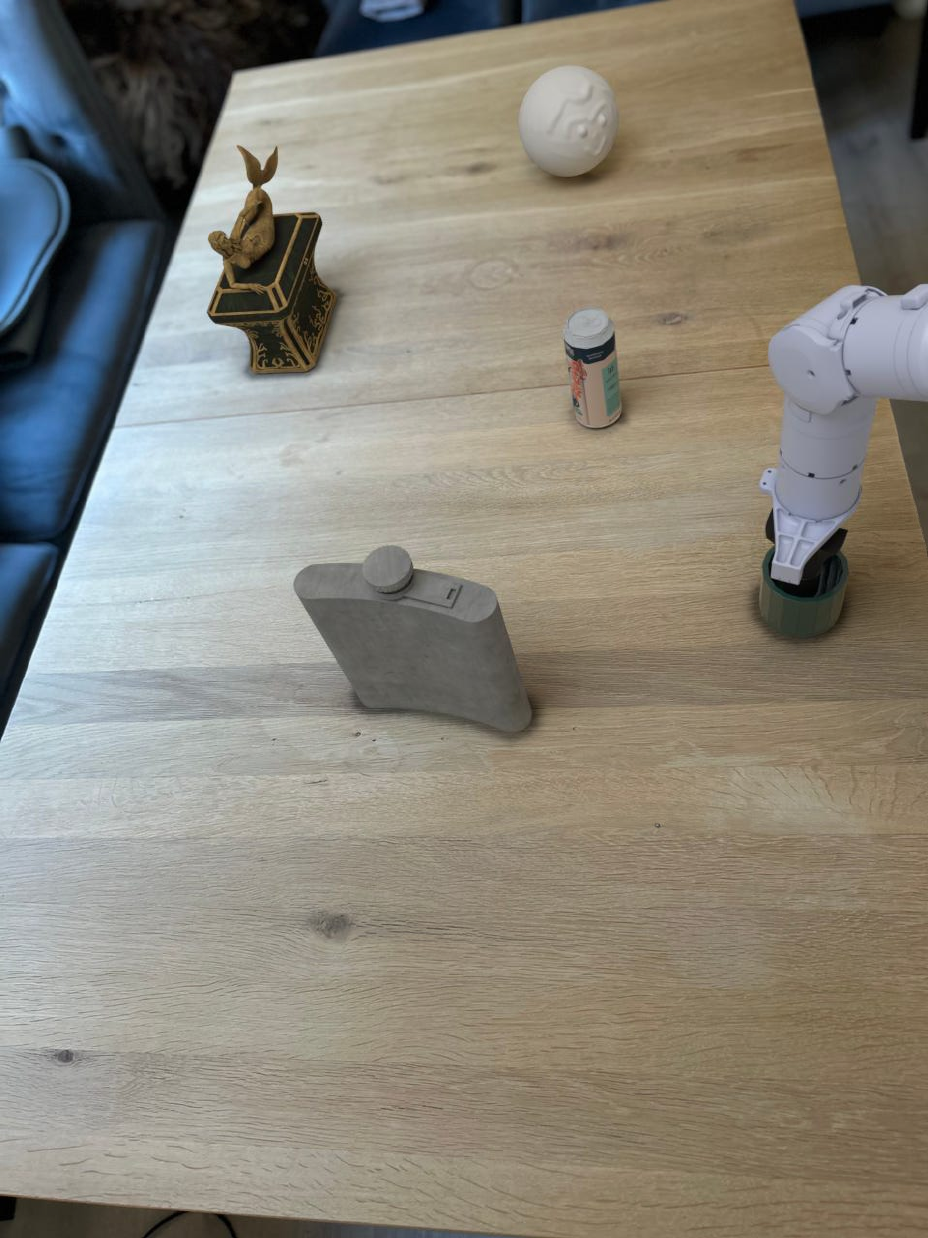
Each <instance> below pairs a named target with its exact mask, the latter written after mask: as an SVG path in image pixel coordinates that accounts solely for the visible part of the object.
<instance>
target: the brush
mask: <svg viewBox="0 0 928 1238" xmlns="http://www.w3.org/2000/svg"><path fill="white" fill-rule="evenodd" d="M821 572H822V566H821V569H820V570H819V572H818V574H817V575H816V577H815V578H814V579H812V580H811V579H808V578H804V577H802V578H801V580H800V583H799V585H796V584H792V583H790V582H789V583H788V582H783V589H784V592H785V593H787V594H789V595H793V596H797V597H800V598H808V597H814V596H815V595H816V594H817V592H818V589H819V583H820V577H821Z"/></svg>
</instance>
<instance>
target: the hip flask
mask: <svg viewBox="0 0 928 1238" xmlns="http://www.w3.org/2000/svg"><path fill="white" fill-rule="evenodd" d="M292 588H293V590H294V593H295V594H296V597H297V598H298V600H299V601H300V603H301V604H302V606H303V608H304V610H305V611H306V613H307V614H308V616H309V618H310V619H311V621H312V623H313V624H314V626H315V627H316V629H317V632H319V634H320V636H321V637H322V639H323V641H324V643H325V644H326V646H327V647H328V649H329V650H330V653H331V654H332V656H333V657H334V659H335V661H336V663H337V664H338V666H339V667H340V669H341V671H342V672H343V674H344V677H346V679H347V681H348V683H349V684H350V686H351V687H352V689H353V690H354V692H355V694H356V695H357V697H358V699H359V700H360V702H361V703H362V705H364V706H365V707H367V708H369V709H403V710H406V709H407V710H416V711H425V712H432V713H437V714H443V715H450V716H454V717H458V718H463V719H466V720H470V721H474V722H478V723H480V724H485V725H487V726H490V727H493V728H494V729H497V730H500V731H503V732H505V733H509V734H510V733H511V734H515V733H519V732H522V731H524V730H525V729H526V728H527V727H528V726H530V724H531V721H532V718H533V711H532V708H531V704H530V701H529V698H528V694H527V691H526V688H525V685H524V681H523V678H522V676H521V672H520V669H519V665H518V663H517V658H516V655H515V652H514V649H513V646H512V643H511V639H510V636H509V633H508V630H507V626H506V623H505V620H504V617H503V613H502V609H501V607H500V604H499V600H498V597H497V594H496V592H495V591H494V590H493V589H492V588H490V587H489V586H486V585H484V584H481V583H478V582H475V581H472V580H468V579H465V578H462V577H458V576H453V575H450V574H446V573H440V572H436V571H431V570H425V569H419V568H414V563H413V561H412V558H411V555H410V553H409V552H408V551H407V550H406V549H405V548H403V547H402V546H398V545H394V544H390V545H388V544H387V545H383V546H380V547H378V548H376V549H374V550H373V551H372V552H369V554H368V555H367V556H366V558H365V559H364V561H363V563H362V562H361V563H360V562H329V563H325V562H324V563H314V564H310V565H307V566H305V567H304V568H302V569H301V570H300V571H299V572H298V573H297V574H296V576H295V577H294V579H293V585H292Z"/></svg>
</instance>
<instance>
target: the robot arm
mask: <svg viewBox="0 0 928 1238" xmlns="http://www.w3.org/2000/svg"><path fill="white" fill-rule="evenodd" d="M767 359H768V365H769V369H770V371H771V374H772V376H773V379H774V381H775V382H776V384H777V385H778V387H779V388H780V390H781V391H782V392H783V405H782V417H781V426H780V437H779V448H778V459H777V468H775V467H767V468H765V470H763V472H762V475H761V477H760V480H759V483H758V485H759V486H758V491H759V492H760V493H761V494H764V495H768V496H770V497H771V500H772V507H771V510H770V512H769V514H768V517H767V520H766V522H765V526H764V527H765V529H764V532H765V533H764V534H765V538H766V539H767V540H769V541H770V542H771V543H773V544H774V545H775V555H774V558H773V561H772V570H771V578H774V579H777V580H780V581H784V582H788V583H789V582H790V583H792V584H796V585H799V583H800V580H801V578H802V577H804V578H808V579H811V580H812V579H814V578H815V577H816V575H817V574H818V572H819V570H820V569H821V566H822V564H823V563H824V561H825V560H826V559H827V558H828V557H830V556H833V555H836V554H837V553H838V552H839V550H840V551H841V549H842V547H843V545H844V543H845V540H846V538H847V536H848V535H847V534H848V532H849V529H847V528H843V527H842V526H844V524H845V523H846V522H847V521H848V520H849V519H850V518H851V517H852V516H853V515H854V513H855V512H856V511H857V509H858V508H859V505H860V502H861V497H862V494H863V486H862V478H863V472H864V467H865V463H866V458H867V455H868V448H869V443H870V439H871V438H870V437H871V433H872V428H873V424H874V419H875V414H876V409H877V404H878V399H883V400H884V399H885V400H897V401H898V400H900V401H913V402H925V403H928V283H920V284H918V285H917V286H915V287H914V288H912V289H911V290H909V291H907V292H906V293H905V294H895V295H888V294H887V293H885V292H884V291H882V290H880V289H879V288H877V287H875V286H870V285H860V284H859V285H858V284H850V285H849V284H847V285H846V286H843V287H841V288H840V289H838V290H837V291H835V292H834V293H832V294H830V295H829V296H827V297H826V298H824V299H823V300H821V301H820V302H819V303H817V304H816V305H814V306H812V307H811V308H810V309H808V310H807V311H806V312H804V313H802V314H801V315H799V316H798V317H797V318H795V319H793V320H792V321H791V322H789V323H787V324H786V325H784V326H783V327H782V328H781V329H780V331H779V332H777V333H775V334H773V336H772V337H771V339H770V340H769V343H768V347H767Z"/></svg>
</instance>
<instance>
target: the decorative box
mask: <svg viewBox="0 0 928 1238" xmlns="http://www.w3.org/2000/svg"><path fill="white" fill-rule="evenodd" d="M236 148H237V150H238V151H239V152H240V154H241V156H242V158H243V161H244V165H245V171H246V177H247V180H248V182H249V183H250V184H252V189H251V190H250V191H249V192H248V193H247V195H246V198H245V202H244V207H243V208H242V209H241V211H239V212H238V216H237V218H236V220H235V222H234V225H233V228H232V229H231V232H230V234H229V236H228V235H227V233H225V232H224V231H222V230H216V231H212V232H210V233H209V234H208V237H207V241H208V243H209V245H210V247H211V249H212V250H213V251H214V252H216V253H217V254H219V255H220V256H222V266H223V269H222V272H221V273H220V276H219V278H218V281H217V283H216V286H215V288H214V291H213V294H212V296H211V299H210V300H209V304H208V307H207V309H206V314H207V316H208V318H209V319H210V320H211V322H212V323H214V324H215V325H219V326H225V327H231V328H235V329H238V330H241V331H242V332H243V333H244V334H245V336H246V337H247V340H248V342H249V365H248V366H249V370H251V371H252V372H253V373H254V374H271V373H272V374H274V373H275V374H277V373H302V372H308V371H310V370H311V369H313V368H314V367H316V366H317V365H316V364H317V362H318V359H319V355H320V352H321V350H322V347H323V343H324V340H325V337H326V334H327V331H328V327H329V325H330V321H331V318H332V315H333V312H334V310H335V307H336V303H337V300H338V293H336V292H335V291H334V290H333V289H332V288H331V287H329V286H328V285H327V284H326V283H324V281H323V280H322V279H321V277H320V275H319V273H318V271H317V269H316V263H315V254H316V253H315V252H316V247H317V243H318V240H319V237H320V234H321V232H322V228H323V220H322V217H321V215H320V214H318V213H317V212H315V211H303V212H302V211H300V212H299V211H298V212H287V213H286V212H285V213H274V211H273V209H274V208H273V202H272V199H271V198H270V195H269V194H268V192H267V191H266V190H265V189H263V188H262V186H263V185H264V184H265V185H266V184H268V183H269V182H271V180H272V179H273V178H274V176H275V175H276V173H277V169H278V164H279V148H278V146H277V145H275V147H274V150H273V152H272V153H271V154H270V155H269V156H268V158H267V159H266V160H265V163H264V167H263V169H262V165H261V162H260V160H259V159H258V158H257V157H256V156H255V155H254V154H252V153H251V152H250V151H249V150H247V149H246V148H244V147H243V146H242V145H239V144H237V145H236Z"/></svg>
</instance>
